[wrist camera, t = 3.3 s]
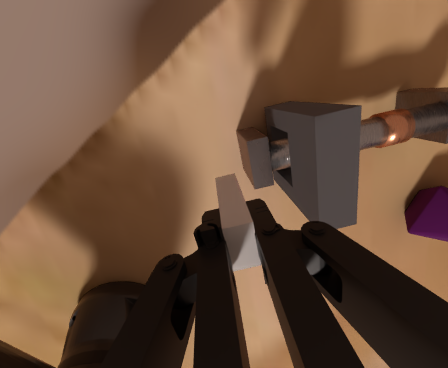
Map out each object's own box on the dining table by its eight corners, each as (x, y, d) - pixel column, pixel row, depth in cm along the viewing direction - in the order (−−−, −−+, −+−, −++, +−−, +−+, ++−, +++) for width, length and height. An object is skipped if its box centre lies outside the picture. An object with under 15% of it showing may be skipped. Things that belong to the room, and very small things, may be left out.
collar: (273, 179, 27) (319, 232, 17) (264, 107, 24) (314, 116, 13) (296, 174, 27) (356, 224, 17) (290, 101, 24) (361, 105, 13)
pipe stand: (243, 169, 27) (255, 190, 21) (236, 130, 25) (247, 142, 19) (407, 129, 27) (467, 139, 21) (413, 88, 25) (480, 86, 19)
